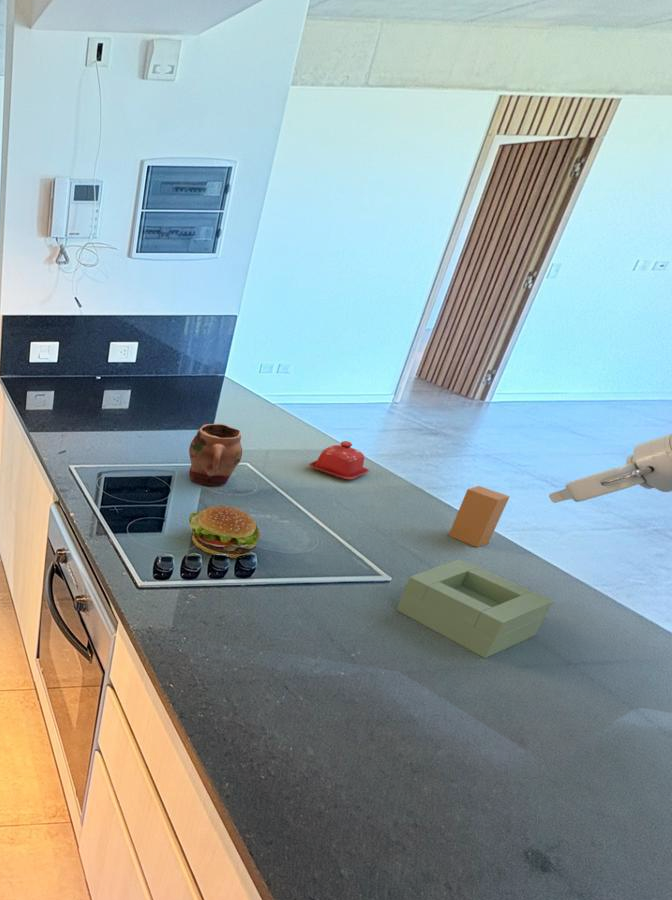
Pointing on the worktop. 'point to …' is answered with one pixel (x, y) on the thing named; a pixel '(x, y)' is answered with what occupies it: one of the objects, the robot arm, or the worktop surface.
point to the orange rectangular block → (478, 516)
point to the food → (224, 531)
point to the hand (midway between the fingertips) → (566, 493)
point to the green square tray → (473, 607)
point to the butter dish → (341, 461)
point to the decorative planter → (214, 454)
